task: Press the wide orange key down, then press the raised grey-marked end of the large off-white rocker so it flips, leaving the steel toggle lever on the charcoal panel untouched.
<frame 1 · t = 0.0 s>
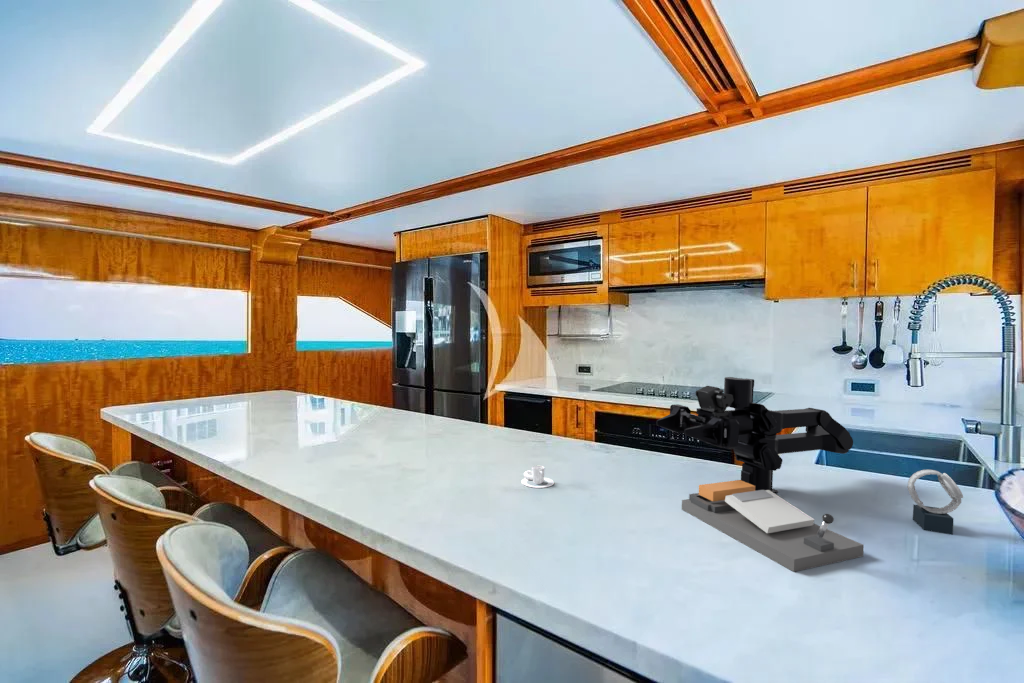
hand: (670, 427, 101), 17 cm above the countertop, tool horizontal, fingers open, 9 cm apart
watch: (932, 527, 92), on the countertop
rocker switch: (768, 509, 88), point 4 cm above the countertop, hinge at -12.0°
teacup and saucer: (544, 481, 116), on the countertop
toggle lever: (825, 522, 77), point 6 cm above the countertop, hinge at -20.0°
panel: (762, 530, 89), on the countertop
push button: (727, 490, 97), point 5 cm above the countertop, slide at 0.0 cm
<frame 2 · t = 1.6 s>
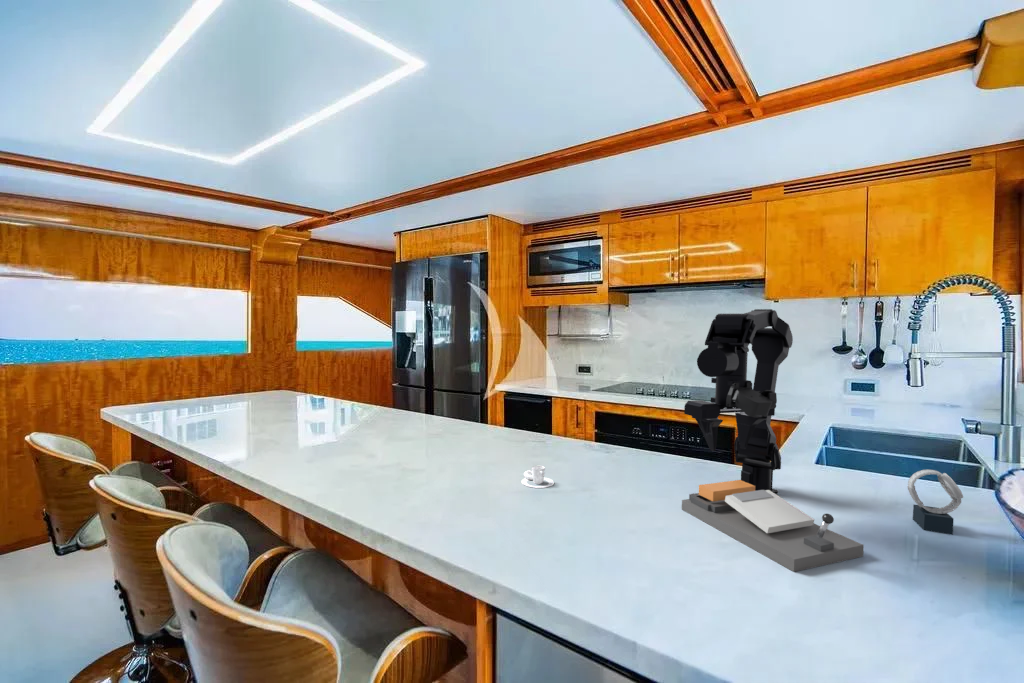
hand: (728, 449, 97), 13 cm above the countertop, tool pointing down, fingers open, 8 cm apart
nothing on the countertop moved.
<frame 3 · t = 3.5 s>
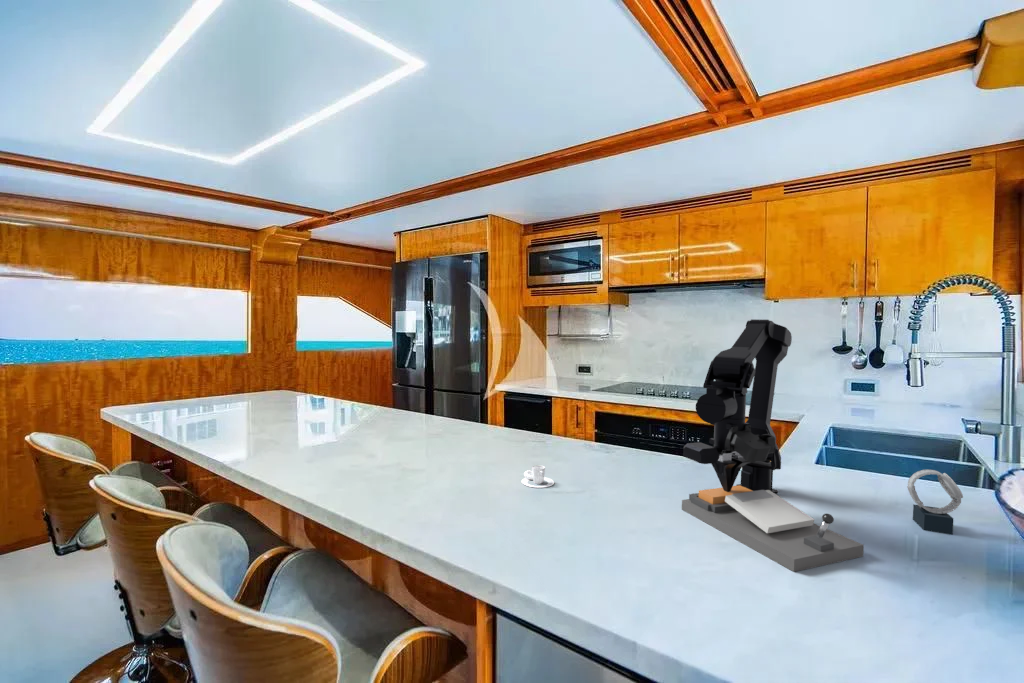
hand: (727, 491, 97), 4 cm above the countertop, tool pointing down, fingers closed, pressing on push button
push button: (726, 495, 97), point 3 cm above the countertop, slide at 1.2 cm, touching gripper
everything else where it was.
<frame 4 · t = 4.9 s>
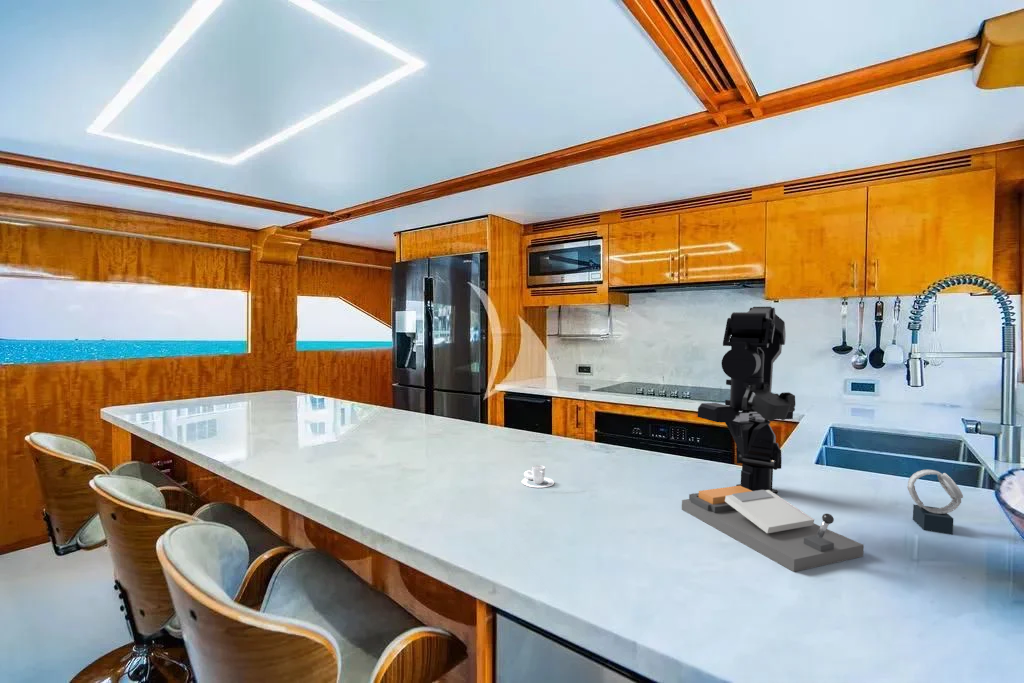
hand: (743, 454, 93), 13 cm above the countertop, tool pointing down, fingers closed
push button: (726, 496, 97), point 3 cm above the countertop, slide at 1.2 cm
everything else where it was.
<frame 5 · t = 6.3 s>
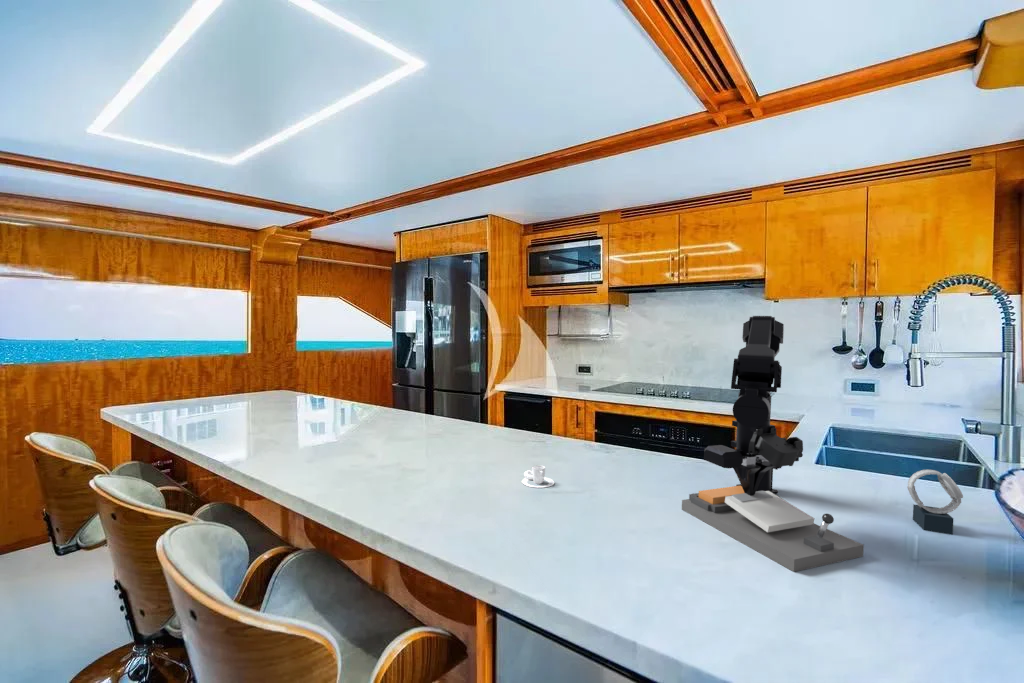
hand: (749, 496, 92), 5 cm above the countertop, tool pointing down, fingers closed, pressing on rocker switch
rocker switch: (768, 509, 88), point 4 cm above the countertop, hinge at -9.5°, touching gripper
everything else where it was.
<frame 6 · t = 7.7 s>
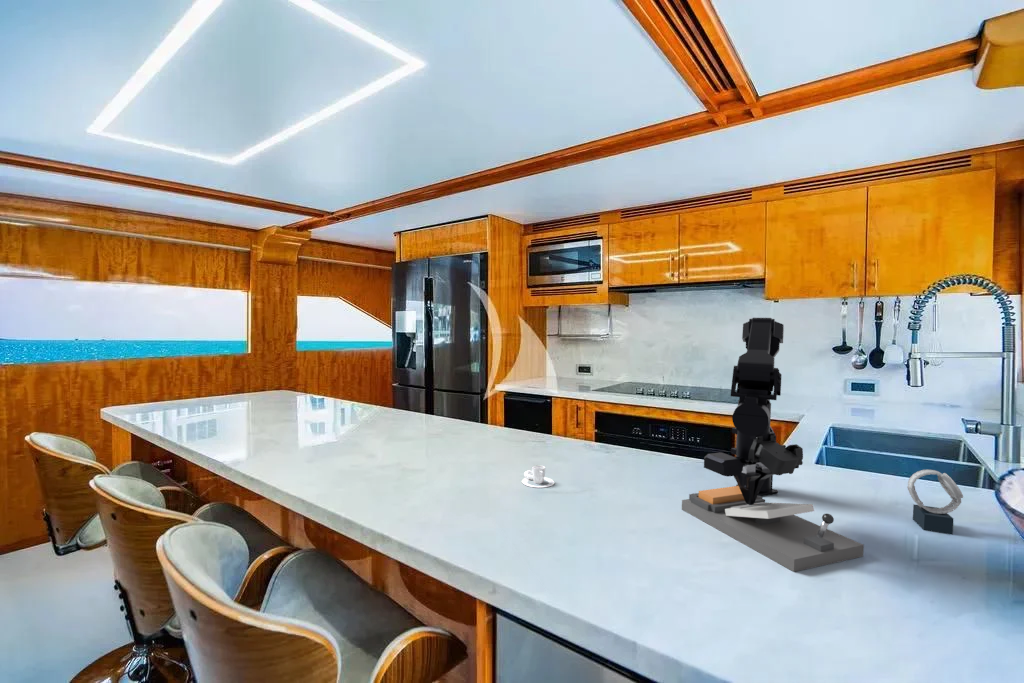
hand: (749, 504, 92), 4 cm above the countertop, tool pointing down, fingers closed
rocker switch: (768, 509, 88), point 4 cm above the countertop, hinge at 18.7°, touching gripper
everything else where it was.
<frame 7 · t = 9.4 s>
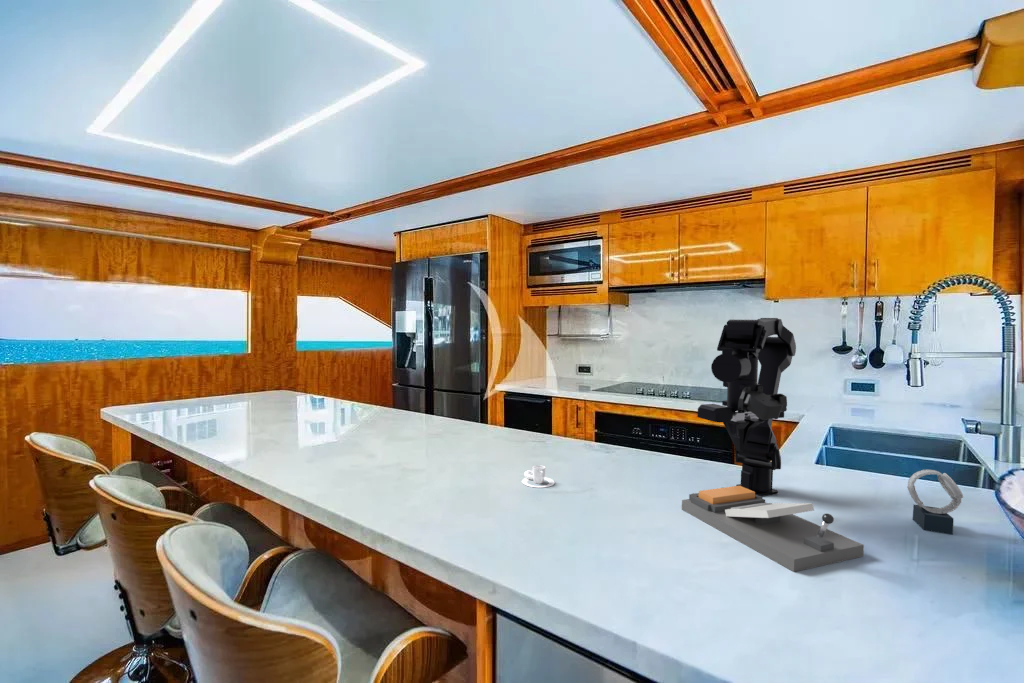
hand: (739, 451, 100), 12 cm above the countertop, tool pointing down, fingers closed
rocker switch: (767, 509, 88), point 4 cm above the countertop, hinge at 20.2°
everything else where it was.
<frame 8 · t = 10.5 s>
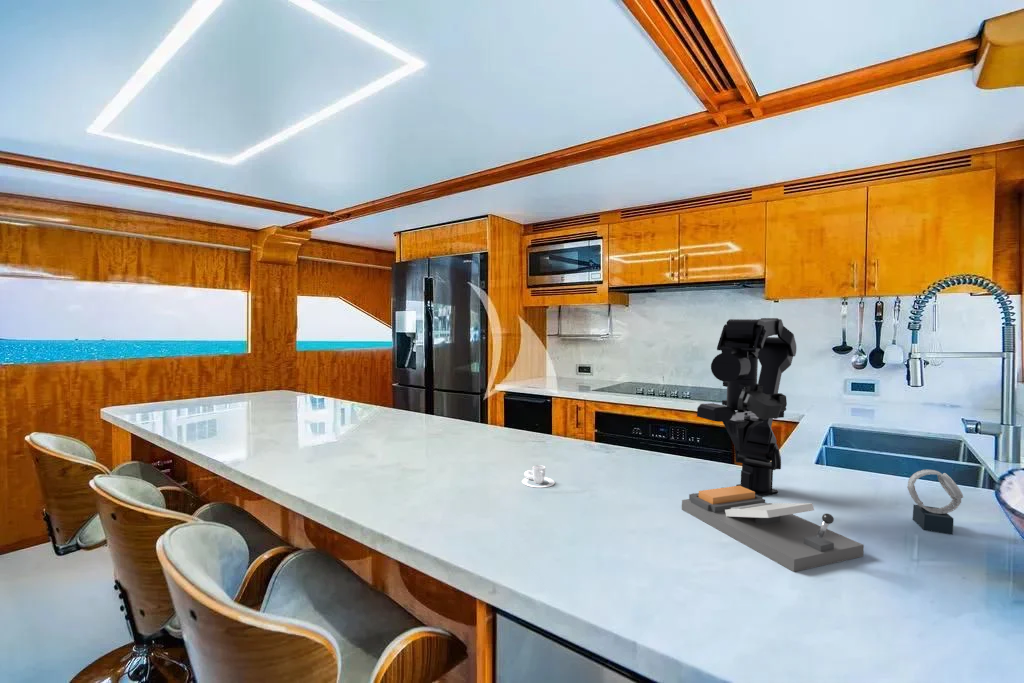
hand: (739, 450, 100), 12 cm above the countertop, tool pointing down, fingers closed
rocker switch: (767, 509, 88), point 4 cm above the countertop, hinge at 20.4°, touching panel
everything else where it was.
at the end: push button slide at 1.2 cm; rocker switch at +20° (first picture: -12°); toggle lever at -20° (first picture: -20°) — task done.
